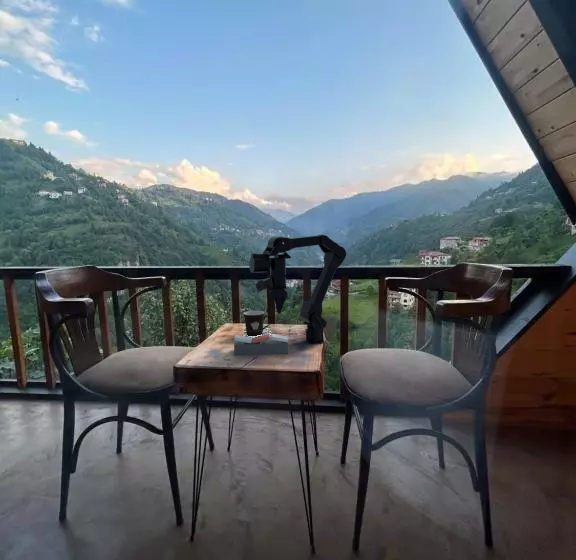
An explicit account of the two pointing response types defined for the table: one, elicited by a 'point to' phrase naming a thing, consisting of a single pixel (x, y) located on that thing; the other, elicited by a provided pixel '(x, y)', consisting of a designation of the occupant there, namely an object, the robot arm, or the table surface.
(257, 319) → the coffee mug
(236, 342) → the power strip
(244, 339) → the white rectangular block
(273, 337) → the block
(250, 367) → the table surface
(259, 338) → the red block
